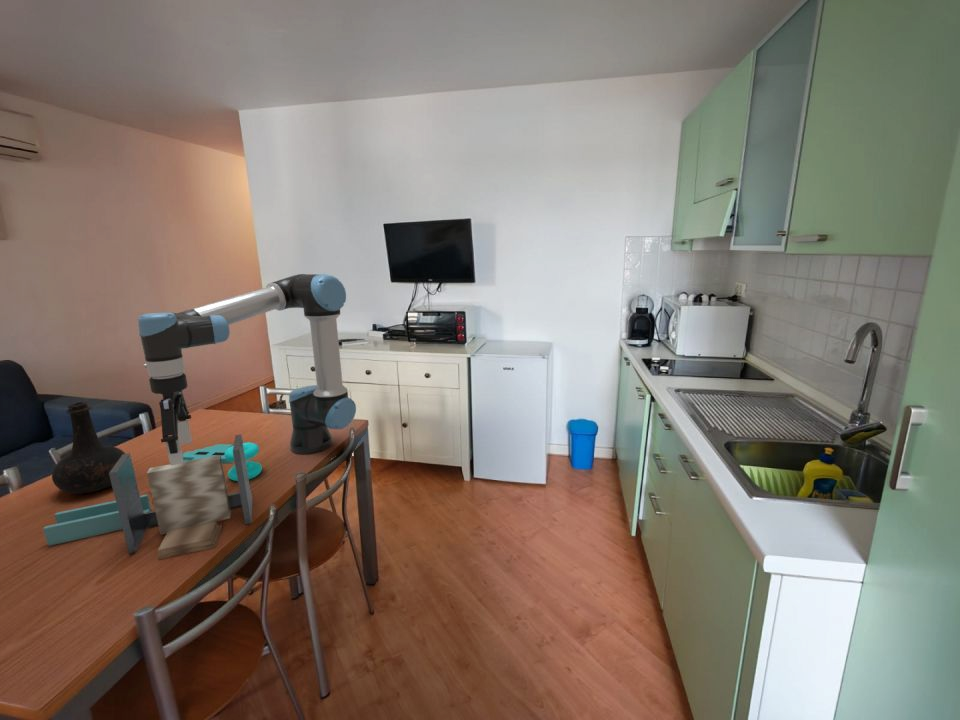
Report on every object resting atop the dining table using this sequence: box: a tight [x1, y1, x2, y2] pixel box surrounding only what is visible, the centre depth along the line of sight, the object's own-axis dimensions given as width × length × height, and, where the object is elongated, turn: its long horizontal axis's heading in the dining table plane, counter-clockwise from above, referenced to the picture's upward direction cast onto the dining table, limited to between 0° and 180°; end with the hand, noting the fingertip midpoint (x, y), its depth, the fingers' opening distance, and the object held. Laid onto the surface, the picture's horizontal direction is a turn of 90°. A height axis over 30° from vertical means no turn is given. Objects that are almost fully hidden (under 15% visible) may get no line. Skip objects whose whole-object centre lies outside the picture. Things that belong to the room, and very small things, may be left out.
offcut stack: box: [157, 521, 223, 560], centre depth 110 cm, size 12×8×3 cm
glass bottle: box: [51, 401, 126, 495], centre depth 134 cm, size 18×18×28 cm
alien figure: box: [182, 443, 234, 464], centre depth 154 cm, size 20×2×20 cm
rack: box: [109, 434, 254, 554], centre depth 114 cm, size 27×12×22 cm, turn 116°
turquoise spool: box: [225, 442, 263, 482], centre depth 142 cm, size 10×10×10 cm
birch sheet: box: [146, 455, 232, 536], centre depth 116 cm, size 16×3×18 cm, turn 116°
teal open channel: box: [42, 493, 152, 547], centre depth 117 cm, size 20×8×5 cm, turn 116°
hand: (181, 453), depth 113 cm, fingers open, 13 cm apart
